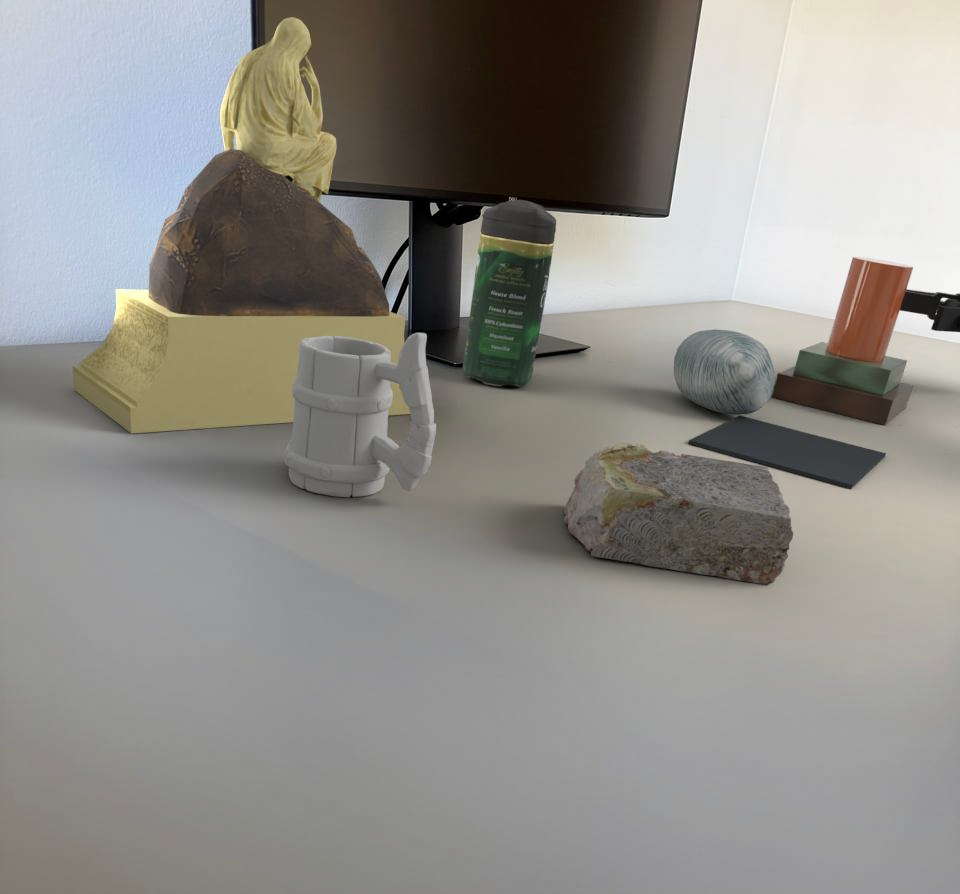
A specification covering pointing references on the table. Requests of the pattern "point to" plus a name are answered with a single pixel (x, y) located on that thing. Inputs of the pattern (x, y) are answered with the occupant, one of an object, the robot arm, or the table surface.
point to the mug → (358, 416)
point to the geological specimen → (681, 513)
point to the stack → (845, 385)
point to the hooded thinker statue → (244, 270)
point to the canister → (868, 309)
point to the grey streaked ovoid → (724, 371)
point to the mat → (791, 450)
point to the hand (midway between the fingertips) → (892, 306)
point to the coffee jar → (509, 293)
